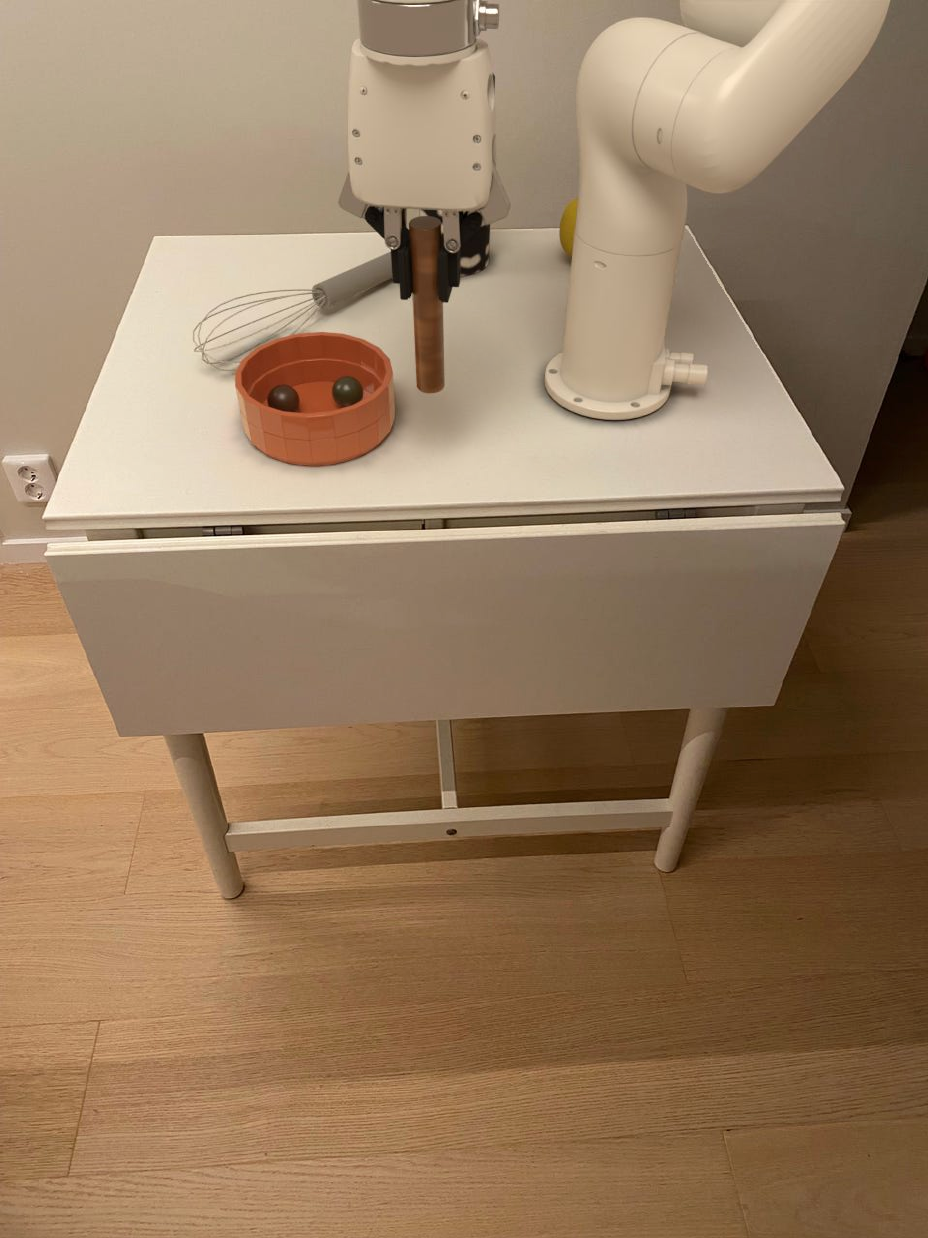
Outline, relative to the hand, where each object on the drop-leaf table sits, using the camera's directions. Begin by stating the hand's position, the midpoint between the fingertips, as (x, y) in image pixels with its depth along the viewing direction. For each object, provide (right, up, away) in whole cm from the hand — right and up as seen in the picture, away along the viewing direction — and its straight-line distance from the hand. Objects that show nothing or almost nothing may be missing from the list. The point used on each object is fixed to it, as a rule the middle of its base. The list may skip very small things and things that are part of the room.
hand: (427, 290), depth 72 cm
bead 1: (-14, -5, +14) cm, 21 cm away
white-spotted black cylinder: (+2, +18, +39) cm, 43 cm away
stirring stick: (0, -6, +6) cm, 9 cm away
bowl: (-11, -7, +16) cm, 20 cm away
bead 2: (-8, -4, +16) cm, 18 cm away
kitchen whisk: (-13, +8, +30) cm, 33 cm away
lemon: (+17, +17, +40) cm, 46 cm away
